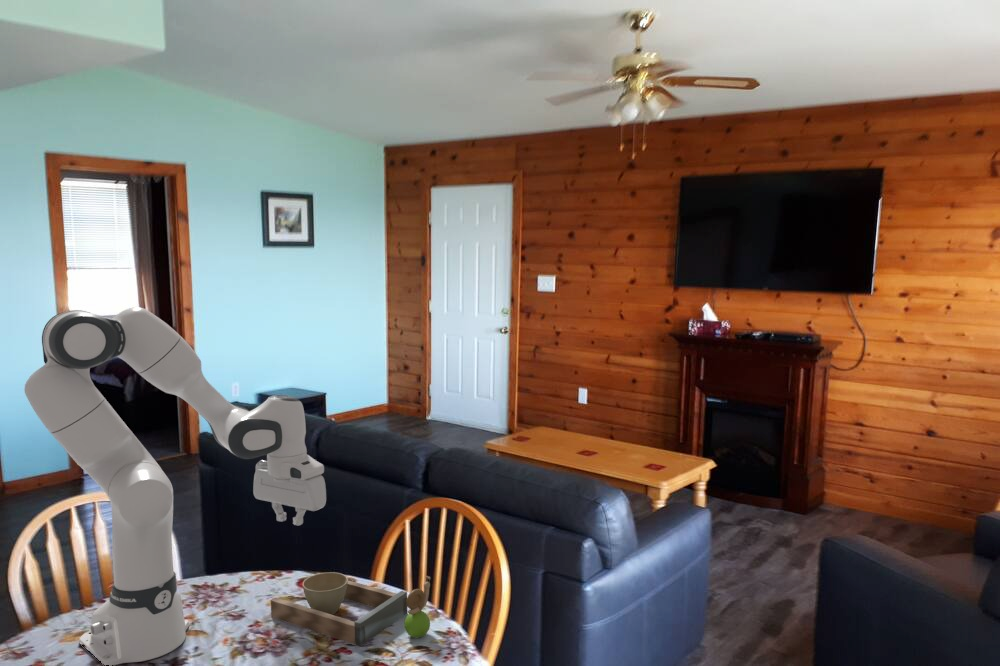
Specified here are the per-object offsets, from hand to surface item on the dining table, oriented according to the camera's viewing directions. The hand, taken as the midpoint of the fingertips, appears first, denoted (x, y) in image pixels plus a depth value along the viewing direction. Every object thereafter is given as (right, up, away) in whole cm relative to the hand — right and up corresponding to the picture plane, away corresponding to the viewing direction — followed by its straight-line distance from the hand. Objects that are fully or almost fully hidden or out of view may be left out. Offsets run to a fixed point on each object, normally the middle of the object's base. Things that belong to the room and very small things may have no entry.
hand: (289, 522), depth 165 cm
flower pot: (+9, -20, -3) cm, 22 cm away
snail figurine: (+32, -20, -14) cm, 40 cm away
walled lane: (+13, -20, -5) cm, 24 cm away
